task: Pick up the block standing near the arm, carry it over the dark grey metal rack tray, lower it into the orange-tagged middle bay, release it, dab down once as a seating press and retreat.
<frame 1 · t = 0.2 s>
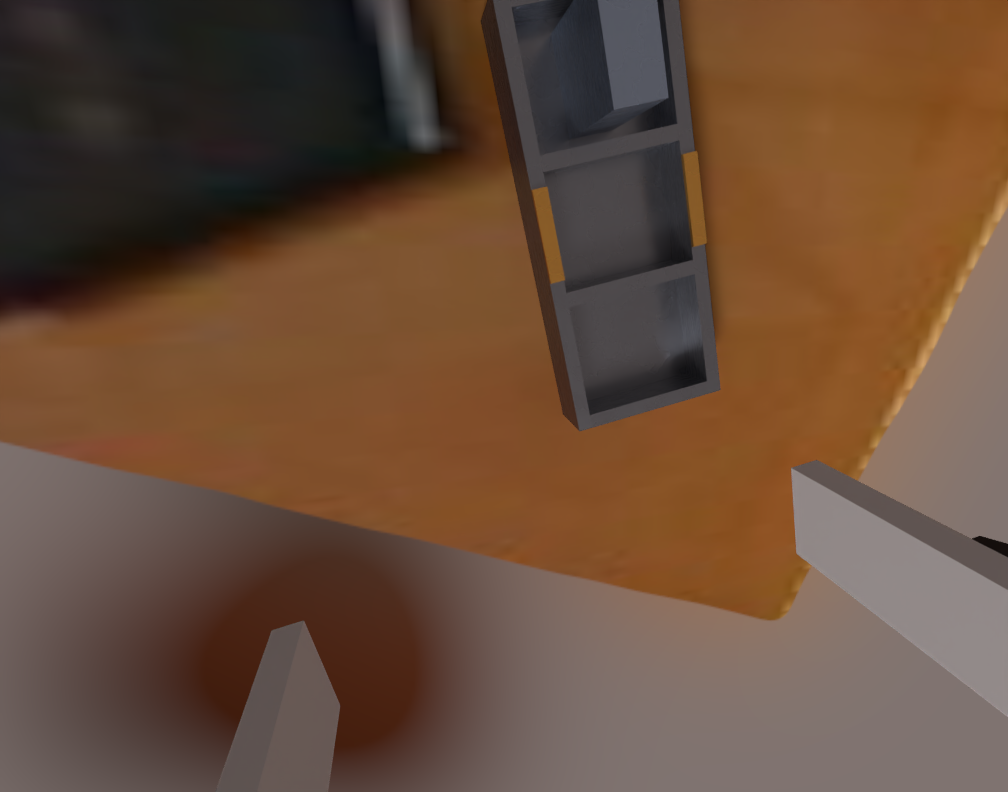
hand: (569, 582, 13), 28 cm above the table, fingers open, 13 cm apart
rack: (599, 221, 39), on the table
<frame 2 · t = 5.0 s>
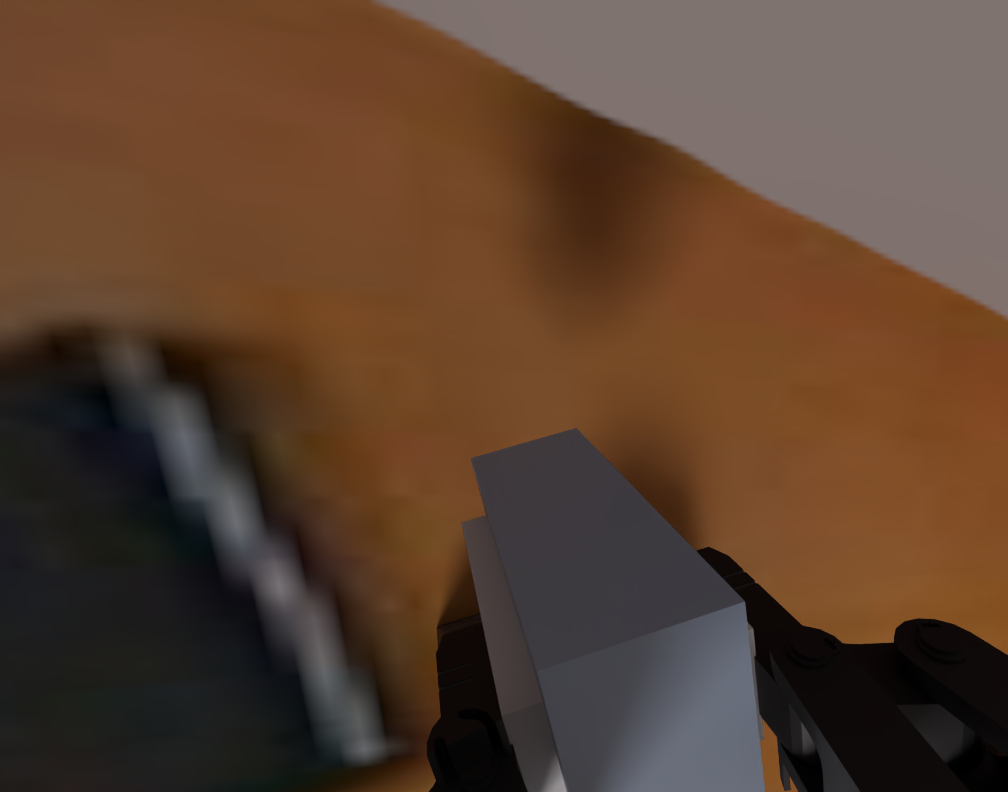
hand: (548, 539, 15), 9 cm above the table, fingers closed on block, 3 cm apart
rack: (595, 791, 30), on the table
block: (546, 536, 16), point 8 cm above the table, touching gripper
when the fingers open (3 cm above the table, at t = 10.5 s): block stays where it is, resting on rack.
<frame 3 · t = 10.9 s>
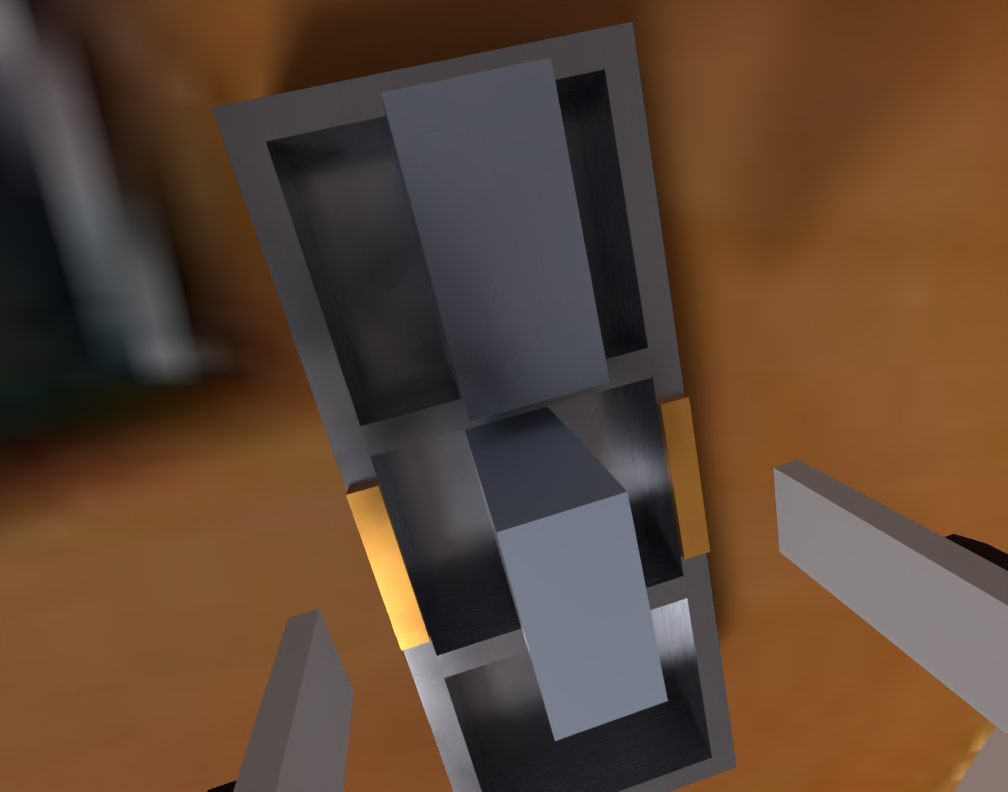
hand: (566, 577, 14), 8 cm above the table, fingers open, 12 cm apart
rack: (517, 473, 22), on the table
block: (523, 489, 21), point 1 cm above the table, touching rack
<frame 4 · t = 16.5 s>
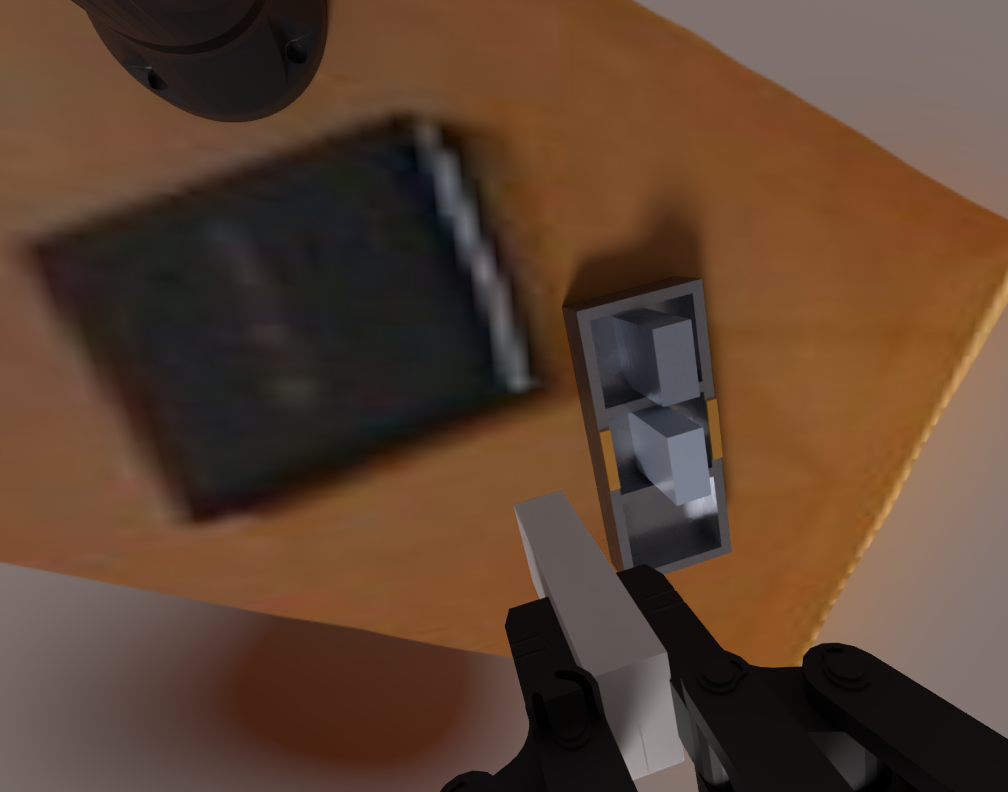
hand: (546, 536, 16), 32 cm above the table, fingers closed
rack: (642, 429, 52), on the table
block: (647, 435, 51), point 1 cm above the table, touching rack
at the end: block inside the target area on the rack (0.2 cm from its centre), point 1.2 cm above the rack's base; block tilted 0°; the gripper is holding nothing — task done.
